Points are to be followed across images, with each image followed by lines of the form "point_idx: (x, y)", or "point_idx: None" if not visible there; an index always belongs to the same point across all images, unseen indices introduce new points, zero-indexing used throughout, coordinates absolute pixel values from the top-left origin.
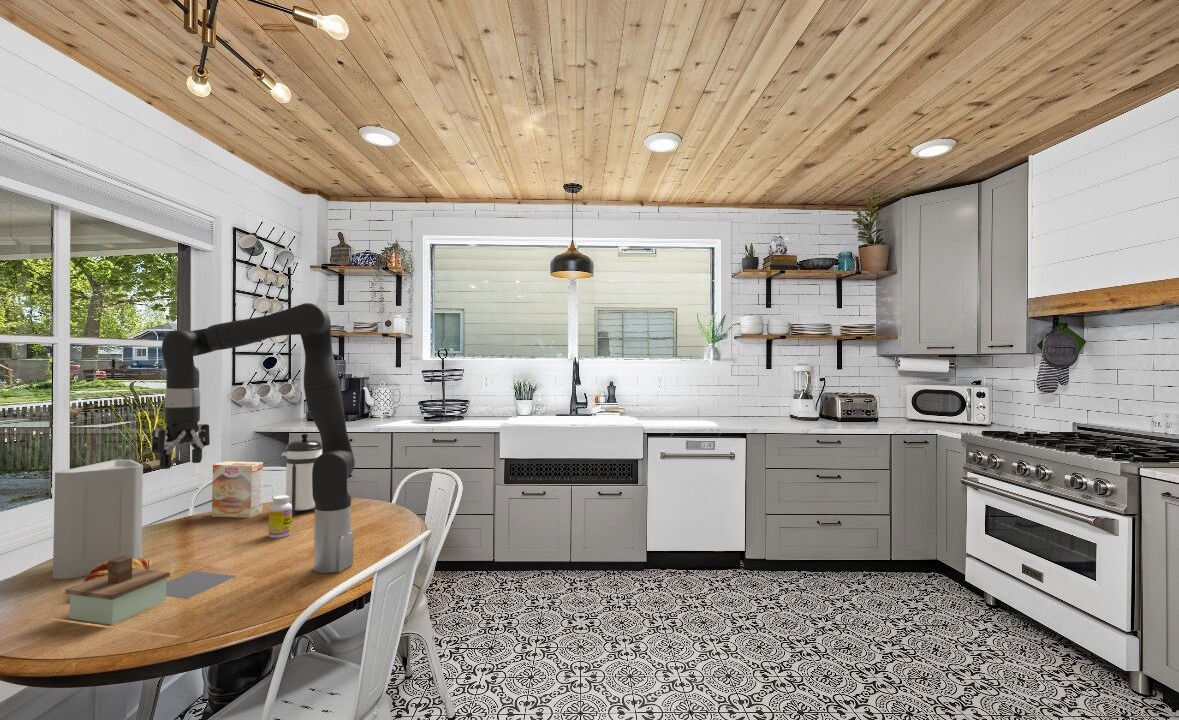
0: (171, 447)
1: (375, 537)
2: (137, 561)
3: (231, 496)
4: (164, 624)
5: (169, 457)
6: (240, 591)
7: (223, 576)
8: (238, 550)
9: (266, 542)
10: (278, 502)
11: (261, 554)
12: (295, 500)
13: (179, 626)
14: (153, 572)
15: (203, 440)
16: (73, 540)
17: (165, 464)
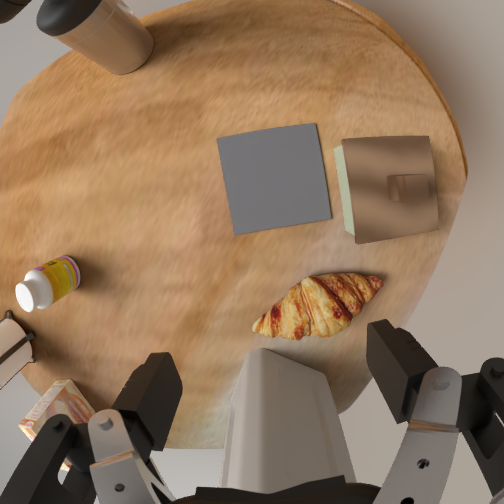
0: (436, 417)
1: (25, 124)
2: (291, 311)
3: (74, 420)
4: (371, 83)
5: (407, 360)
6: (255, 79)
7: (228, 157)
8: (135, 268)
9: (93, 261)
10: (34, 288)
11: (127, 210)
12: (17, 342)
13: (365, 62)
14: (356, 168)
15: (71, 470)
16: (331, 409)
17: (402, 337)
